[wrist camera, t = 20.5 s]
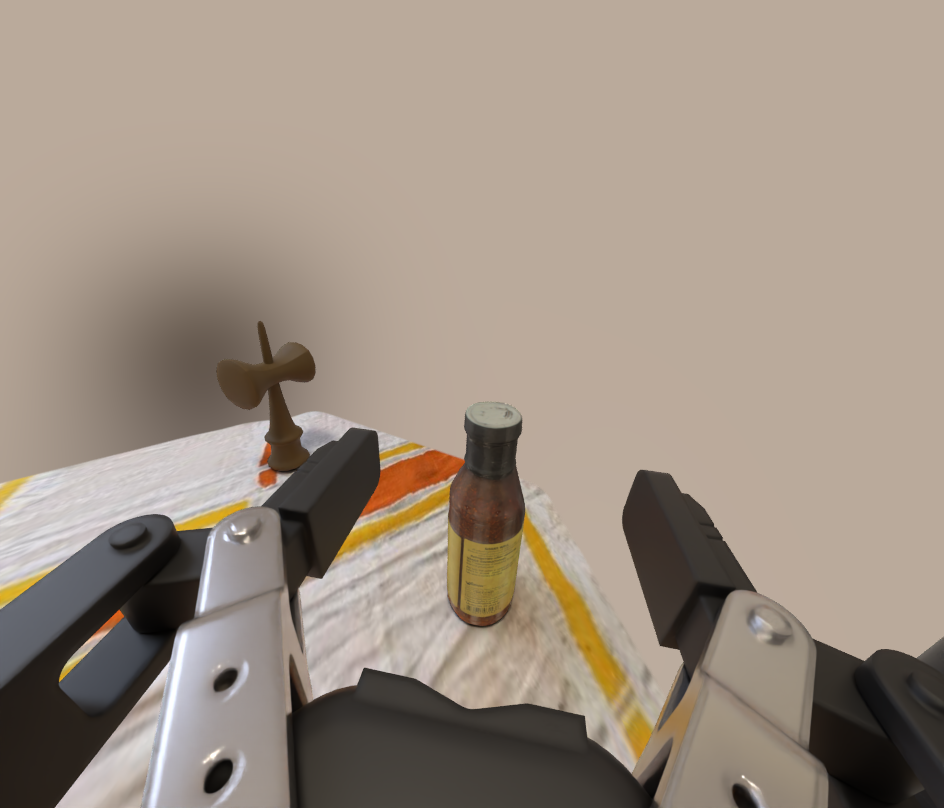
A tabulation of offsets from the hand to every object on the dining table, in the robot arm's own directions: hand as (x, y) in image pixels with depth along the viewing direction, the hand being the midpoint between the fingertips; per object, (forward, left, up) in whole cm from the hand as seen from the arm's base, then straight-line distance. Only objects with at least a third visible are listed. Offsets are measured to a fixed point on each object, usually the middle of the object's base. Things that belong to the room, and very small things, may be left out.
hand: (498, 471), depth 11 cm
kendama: (+29, -26, -25) cm, 46 cm away
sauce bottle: (0, -12, -25) cm, 27 cm away
